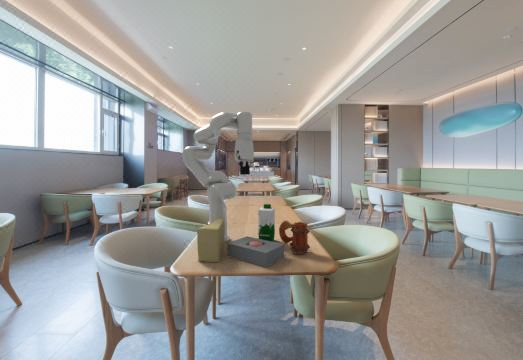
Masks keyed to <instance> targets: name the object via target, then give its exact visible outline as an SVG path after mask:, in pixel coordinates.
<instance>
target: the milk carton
mask: <svg viewBox="0 0 523 360" xmlns="http://www.w3.org/2000/svg"><path fill="white" fill-rule="evenodd" d="M275 209H276V208H275V207H272V204H270V203H263V207H262V206H261V207H260V208H259V209H257V218H258V219H257V220H258V221H257V227H258V228H257V230H258V231H257V235H258V239H262V240H266V241H271V242H275V235H276V234H275V233H276V214H275V213H276V212H275V211H276V210H275Z"/></svg>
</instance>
